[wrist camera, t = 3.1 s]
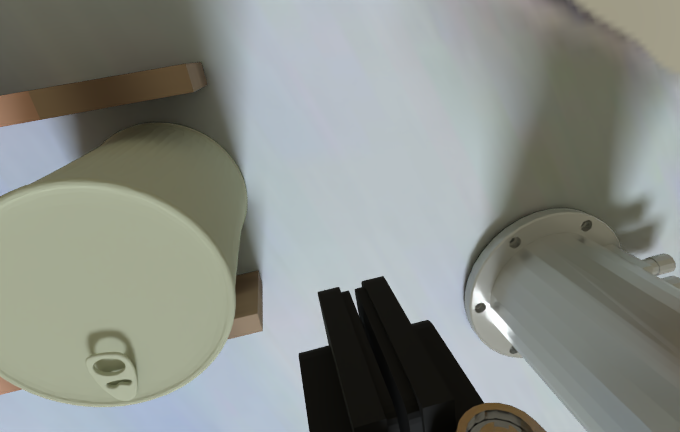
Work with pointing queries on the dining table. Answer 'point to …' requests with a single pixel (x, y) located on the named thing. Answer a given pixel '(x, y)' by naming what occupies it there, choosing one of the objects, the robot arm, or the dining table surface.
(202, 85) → the channel
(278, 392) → the dining table surface
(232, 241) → the can
